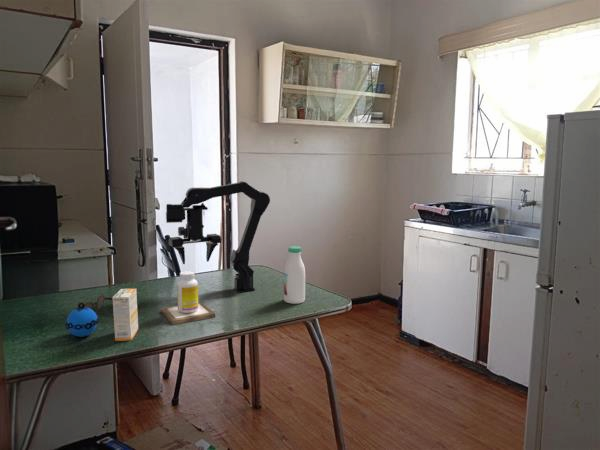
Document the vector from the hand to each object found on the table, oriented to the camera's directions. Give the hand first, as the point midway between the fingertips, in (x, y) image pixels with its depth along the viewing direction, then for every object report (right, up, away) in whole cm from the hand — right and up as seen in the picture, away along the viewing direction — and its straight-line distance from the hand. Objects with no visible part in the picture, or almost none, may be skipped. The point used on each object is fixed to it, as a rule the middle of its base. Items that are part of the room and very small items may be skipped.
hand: (195, 262), depth 176 cm
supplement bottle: (+2, -14, -21) cm, 26 cm away
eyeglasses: (-23, -16, -20) cm, 34 cm away
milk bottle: (+37, -14, -6) cm, 40 cm away
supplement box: (-11, -18, -39) cm, 45 cm away
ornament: (-24, -18, -40) cm, 50 cm away
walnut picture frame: (+2, -15, -21) cm, 26 cm away
